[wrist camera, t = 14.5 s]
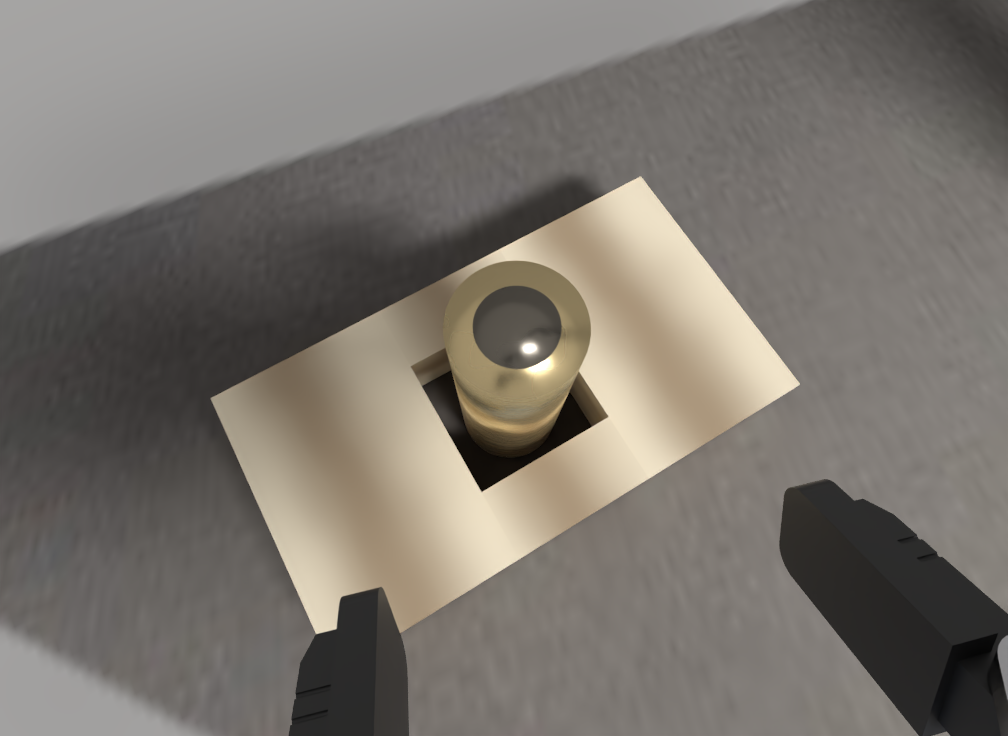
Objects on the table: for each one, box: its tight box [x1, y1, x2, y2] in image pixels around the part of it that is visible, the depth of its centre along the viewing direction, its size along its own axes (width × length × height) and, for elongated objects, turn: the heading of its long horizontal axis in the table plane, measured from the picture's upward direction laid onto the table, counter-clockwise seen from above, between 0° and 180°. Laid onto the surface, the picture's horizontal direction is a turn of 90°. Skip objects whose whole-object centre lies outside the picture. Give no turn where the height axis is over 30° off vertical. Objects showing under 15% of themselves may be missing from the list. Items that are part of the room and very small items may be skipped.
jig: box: [211, 177, 800, 634], centre depth 24 cm, size 20×11×3 cm, turn 120°
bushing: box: [443, 260, 591, 458], centre depth 20 cm, size 4×4×10 cm
